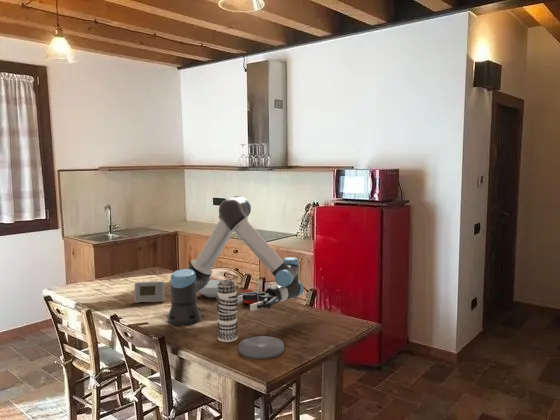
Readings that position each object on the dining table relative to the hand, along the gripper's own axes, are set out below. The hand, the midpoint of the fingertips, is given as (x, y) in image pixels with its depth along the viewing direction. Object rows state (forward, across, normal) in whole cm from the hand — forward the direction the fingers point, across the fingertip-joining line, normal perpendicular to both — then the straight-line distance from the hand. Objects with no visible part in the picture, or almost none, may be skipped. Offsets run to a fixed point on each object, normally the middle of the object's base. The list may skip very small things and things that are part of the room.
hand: (240, 304), depth 197 cm
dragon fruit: (-31, +30, -14) cm, 45 cm away
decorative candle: (+7, +1, -14) cm, 15 cm away
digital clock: (+5, +72, -14) cm, 74 cm away
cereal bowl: (-26, +57, -14) cm, 64 cm away
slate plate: (+4, -18, -13) cm, 23 cm away
